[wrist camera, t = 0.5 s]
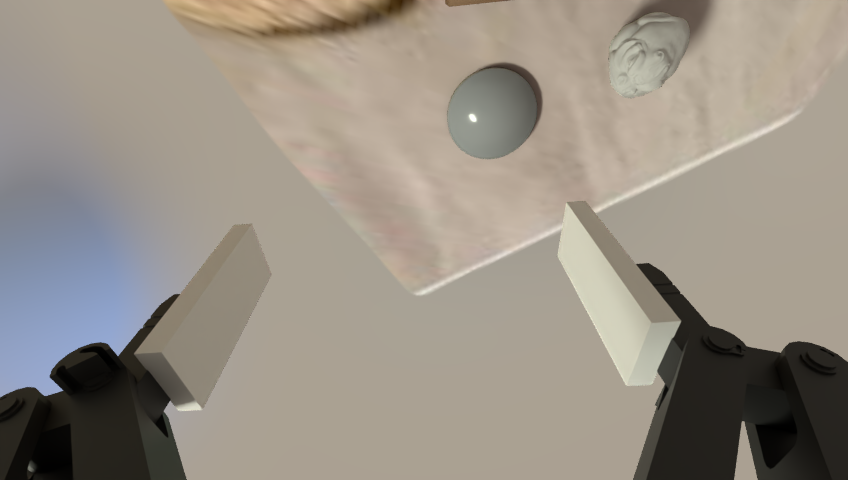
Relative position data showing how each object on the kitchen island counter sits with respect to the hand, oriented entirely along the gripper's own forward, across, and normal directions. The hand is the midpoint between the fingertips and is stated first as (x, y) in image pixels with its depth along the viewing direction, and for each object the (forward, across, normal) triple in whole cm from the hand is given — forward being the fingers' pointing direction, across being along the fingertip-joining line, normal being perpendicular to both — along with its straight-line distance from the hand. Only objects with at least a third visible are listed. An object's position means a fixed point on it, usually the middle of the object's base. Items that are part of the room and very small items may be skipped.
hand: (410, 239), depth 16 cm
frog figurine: (+26, +20, +3) cm, 33 cm away
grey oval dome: (+25, +8, -2) cm, 27 cm away
